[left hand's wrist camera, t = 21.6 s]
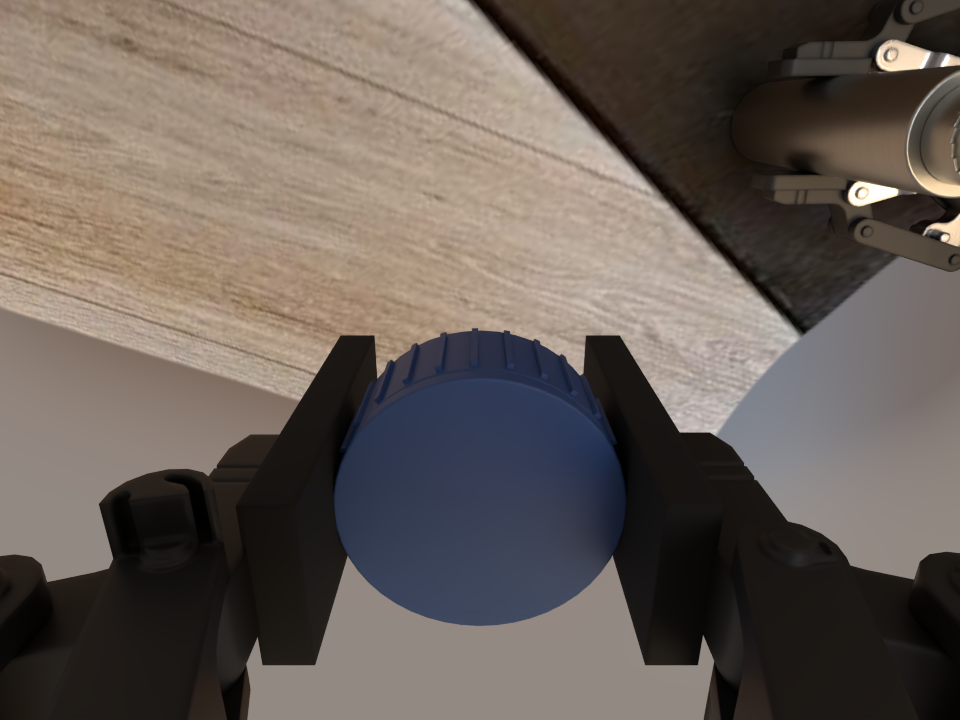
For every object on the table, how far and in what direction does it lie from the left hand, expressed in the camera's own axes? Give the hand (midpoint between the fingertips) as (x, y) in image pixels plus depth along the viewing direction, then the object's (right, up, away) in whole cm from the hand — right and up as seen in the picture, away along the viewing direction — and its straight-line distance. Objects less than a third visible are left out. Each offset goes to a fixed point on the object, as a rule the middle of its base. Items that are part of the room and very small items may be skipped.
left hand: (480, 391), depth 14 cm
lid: (0, -2, -4) cm, 4 cm away
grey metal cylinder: (+16, +14, +20) cm, 30 cm away
